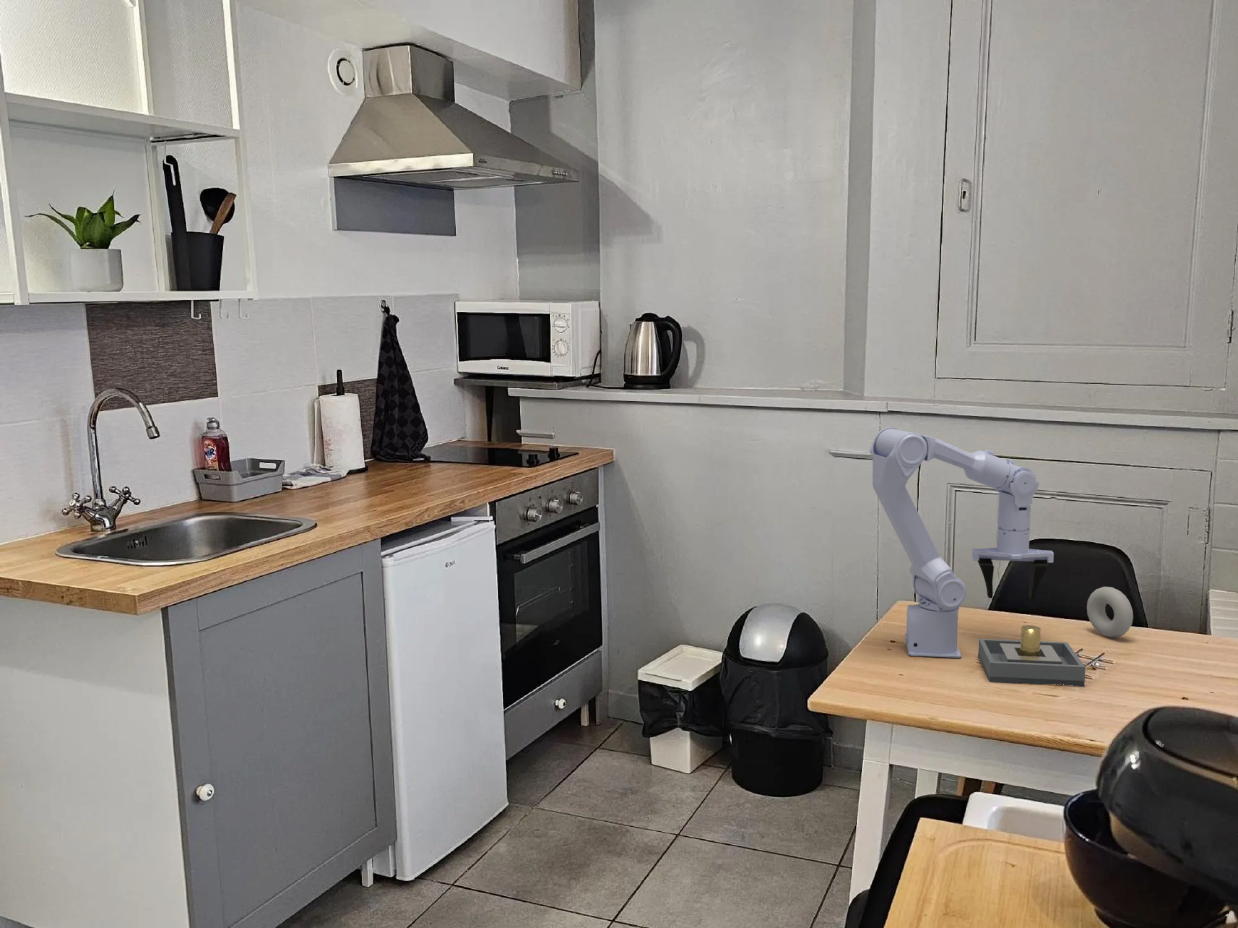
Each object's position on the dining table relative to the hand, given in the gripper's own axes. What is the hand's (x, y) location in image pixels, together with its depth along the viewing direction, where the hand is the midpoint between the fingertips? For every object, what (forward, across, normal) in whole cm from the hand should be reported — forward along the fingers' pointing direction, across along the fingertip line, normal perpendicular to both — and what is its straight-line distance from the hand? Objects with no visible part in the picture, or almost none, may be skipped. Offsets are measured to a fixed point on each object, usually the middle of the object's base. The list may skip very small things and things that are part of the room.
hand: (1010, 597), depth 203 cm
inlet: (+9, +1, -15) cm, 18 cm away
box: (+9, +1, -15) cm, 18 cm away
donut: (+10, +20, +8) cm, 24 cm away
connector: (+8, +1, -15) cm, 17 cm away
